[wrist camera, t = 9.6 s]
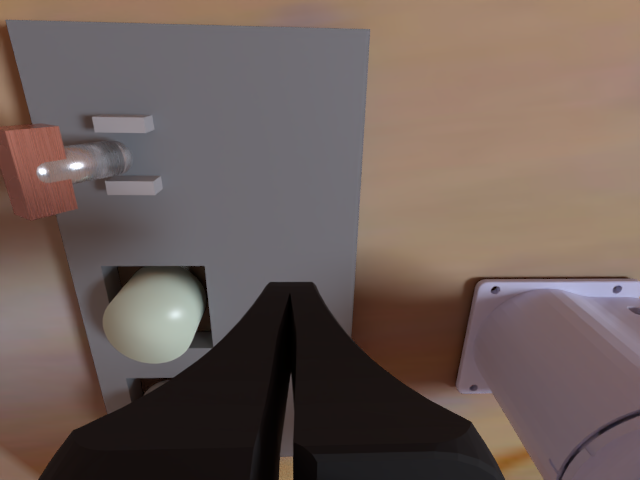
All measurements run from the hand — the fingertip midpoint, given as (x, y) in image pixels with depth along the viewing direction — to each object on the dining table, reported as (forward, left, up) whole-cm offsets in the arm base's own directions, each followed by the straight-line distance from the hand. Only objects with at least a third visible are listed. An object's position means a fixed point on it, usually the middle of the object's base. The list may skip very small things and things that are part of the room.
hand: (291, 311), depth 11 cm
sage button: (+7, +5, -9) cm, 12 cm away
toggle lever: (+7, -3, -7) cm, 11 cm away
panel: (+4, +4, -9) cm, 11 cm away
